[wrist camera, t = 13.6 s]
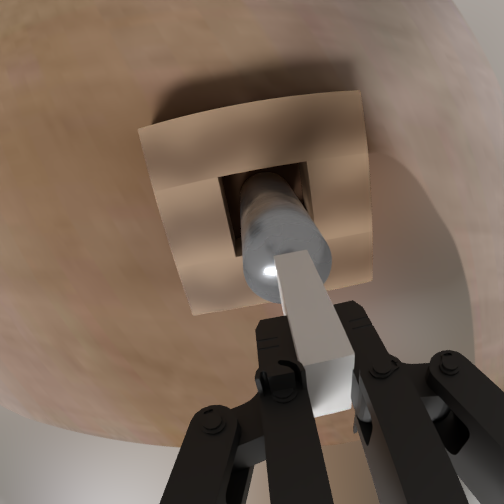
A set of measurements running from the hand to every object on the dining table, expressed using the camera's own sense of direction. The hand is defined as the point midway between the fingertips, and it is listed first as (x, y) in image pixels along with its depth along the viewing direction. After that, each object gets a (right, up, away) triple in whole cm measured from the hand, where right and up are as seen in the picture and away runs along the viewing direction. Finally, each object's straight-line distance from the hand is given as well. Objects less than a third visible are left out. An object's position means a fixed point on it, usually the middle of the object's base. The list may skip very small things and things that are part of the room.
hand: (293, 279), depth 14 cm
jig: (-1, +6, +12) cm, 13 cm away
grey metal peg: (-1, +6, +12) cm, 13 cm away
